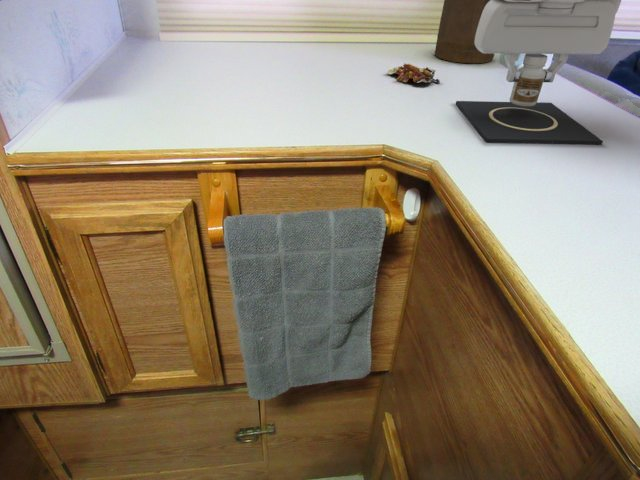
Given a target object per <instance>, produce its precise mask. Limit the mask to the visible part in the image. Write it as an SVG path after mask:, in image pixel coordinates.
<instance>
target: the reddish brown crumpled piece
mask: <svg viewBox="0 0 640 480" xmlns="http://www.w3.org/2000/svg"><path fill="white" fill-rule="evenodd" d="M436 71H437V70H436V69H434V68H431V67H427V66H426V67H422V66H421V67H418V66H415V65H414V64H413V65H412V64H411V63H406V62H404V63H403V65H401V66H400V65H399V66H394V67H392V68H390V69H388V71H386V75H393V74H396V75H398V77H397V78H396V82H400V81H401V82H403V83H408V81H409V79H412V81H413V83H422V82H423V83H431V82H432V81H433V82H436V83H438V84H440V82H441V80H440V79H439V78H436V79H435V78H434V77H435V73H436Z"/></svg>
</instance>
